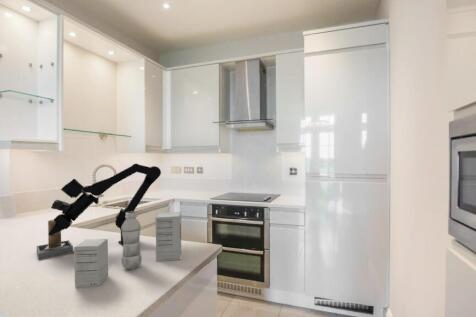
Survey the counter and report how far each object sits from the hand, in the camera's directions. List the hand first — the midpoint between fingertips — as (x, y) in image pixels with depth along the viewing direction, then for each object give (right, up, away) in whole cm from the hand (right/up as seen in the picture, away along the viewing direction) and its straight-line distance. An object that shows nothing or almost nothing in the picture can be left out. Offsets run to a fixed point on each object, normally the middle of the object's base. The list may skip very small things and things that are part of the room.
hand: (50, 233), depth 109 cm
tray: (+1, -8, 0) cm, 8 cm away
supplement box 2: (+52, -8, -6) cm, 53 cm away
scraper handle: (+1, -7, +1) cm, 7 cm away
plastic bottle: (+41, -8, -17) cm, 45 cm away
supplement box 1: (+33, -8, -27) cm, 43 cm away
